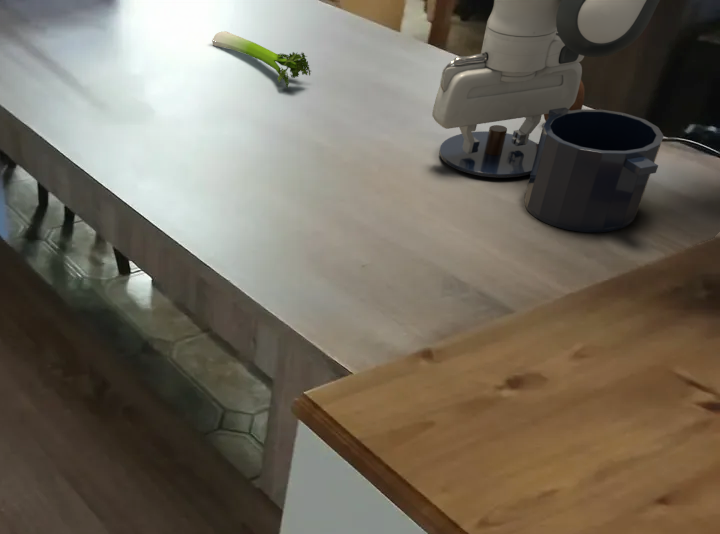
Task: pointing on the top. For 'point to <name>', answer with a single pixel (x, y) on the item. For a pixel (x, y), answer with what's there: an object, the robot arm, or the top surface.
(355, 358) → the top surface
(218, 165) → the top surface
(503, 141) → the lid
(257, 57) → the celery stalk
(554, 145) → the pot
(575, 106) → the coconut
